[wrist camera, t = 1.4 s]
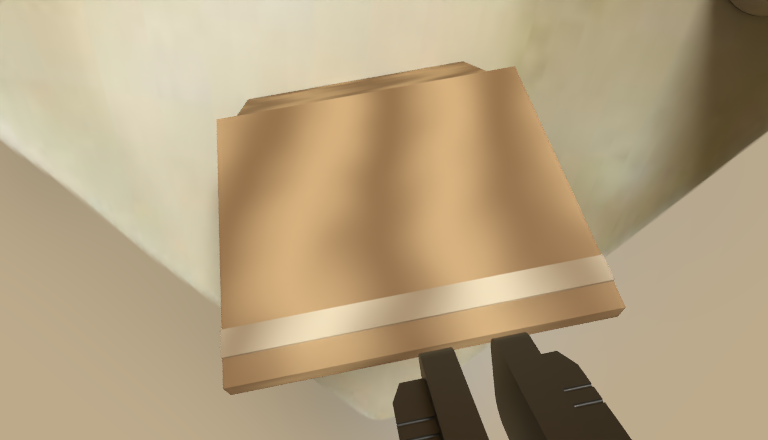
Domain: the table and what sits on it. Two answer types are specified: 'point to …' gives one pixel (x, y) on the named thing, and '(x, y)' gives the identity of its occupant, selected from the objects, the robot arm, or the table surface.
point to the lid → (396, 230)
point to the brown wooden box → (358, 87)
